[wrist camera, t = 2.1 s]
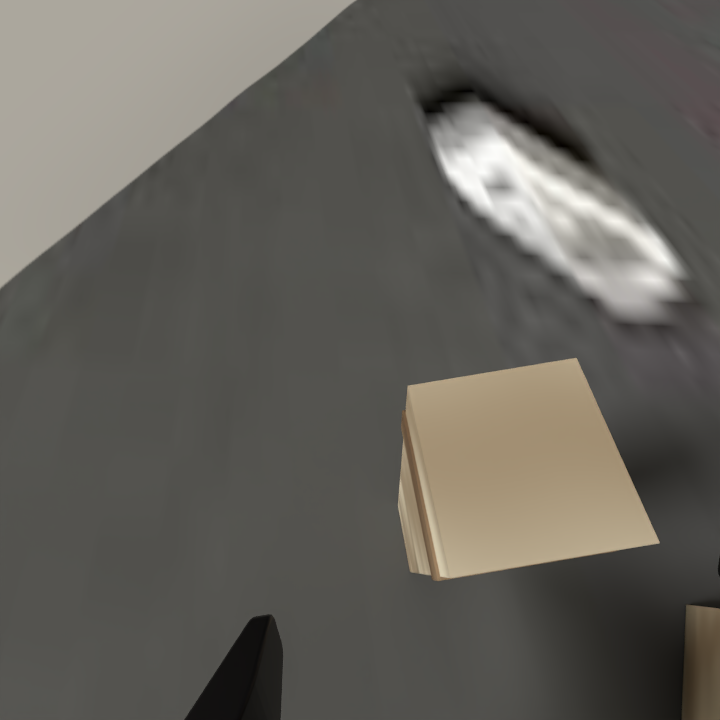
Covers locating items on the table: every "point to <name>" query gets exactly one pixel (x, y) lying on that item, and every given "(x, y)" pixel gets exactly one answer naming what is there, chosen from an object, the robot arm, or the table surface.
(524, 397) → the tall beige post
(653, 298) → the table surface
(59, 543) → the table surface
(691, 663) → the tray
